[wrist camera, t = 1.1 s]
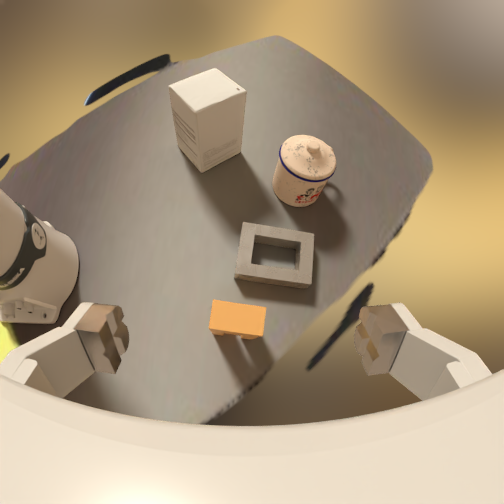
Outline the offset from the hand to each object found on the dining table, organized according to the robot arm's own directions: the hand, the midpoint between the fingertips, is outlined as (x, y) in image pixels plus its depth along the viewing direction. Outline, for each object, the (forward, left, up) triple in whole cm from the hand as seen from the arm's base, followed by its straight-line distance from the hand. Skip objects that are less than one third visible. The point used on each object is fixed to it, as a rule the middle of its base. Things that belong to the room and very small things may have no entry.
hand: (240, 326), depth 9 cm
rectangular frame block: (+11, +10, -31) cm, 35 cm away
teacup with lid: (+21, +22, -32) cm, 44 cm away
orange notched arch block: (+2, +2, -31) cm, 31 cm away
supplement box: (+7, +34, -32) cm, 47 cm away
